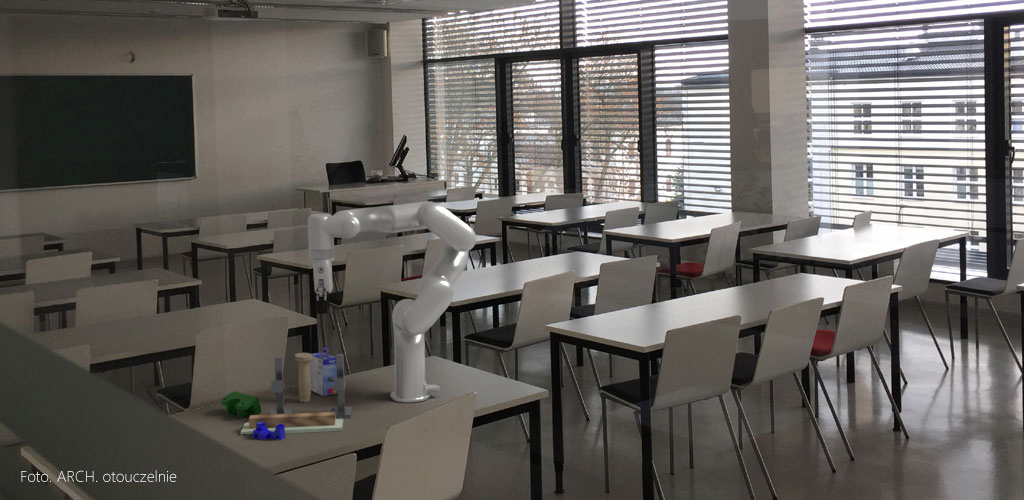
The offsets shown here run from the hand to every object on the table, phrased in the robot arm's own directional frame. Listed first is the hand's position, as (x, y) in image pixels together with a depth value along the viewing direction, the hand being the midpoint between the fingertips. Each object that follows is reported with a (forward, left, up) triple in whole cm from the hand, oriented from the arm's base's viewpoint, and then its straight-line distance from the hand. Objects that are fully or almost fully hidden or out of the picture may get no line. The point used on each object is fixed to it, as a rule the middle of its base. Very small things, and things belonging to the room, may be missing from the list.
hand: (323, 310), depth 288 cm
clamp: (+25, +5, -31) cm, 40 cm away
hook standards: (+4, +10, -30) cm, 32 cm away
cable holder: (+14, +28, -31) cm, 44 cm away
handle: (+7, -6, -31) cm, 32 cm away
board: (+8, +21, -30) cm, 37 cm away
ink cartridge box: (+2, -16, -31) cm, 34 cm away
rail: (+8, +21, -29) cm, 37 cm away
